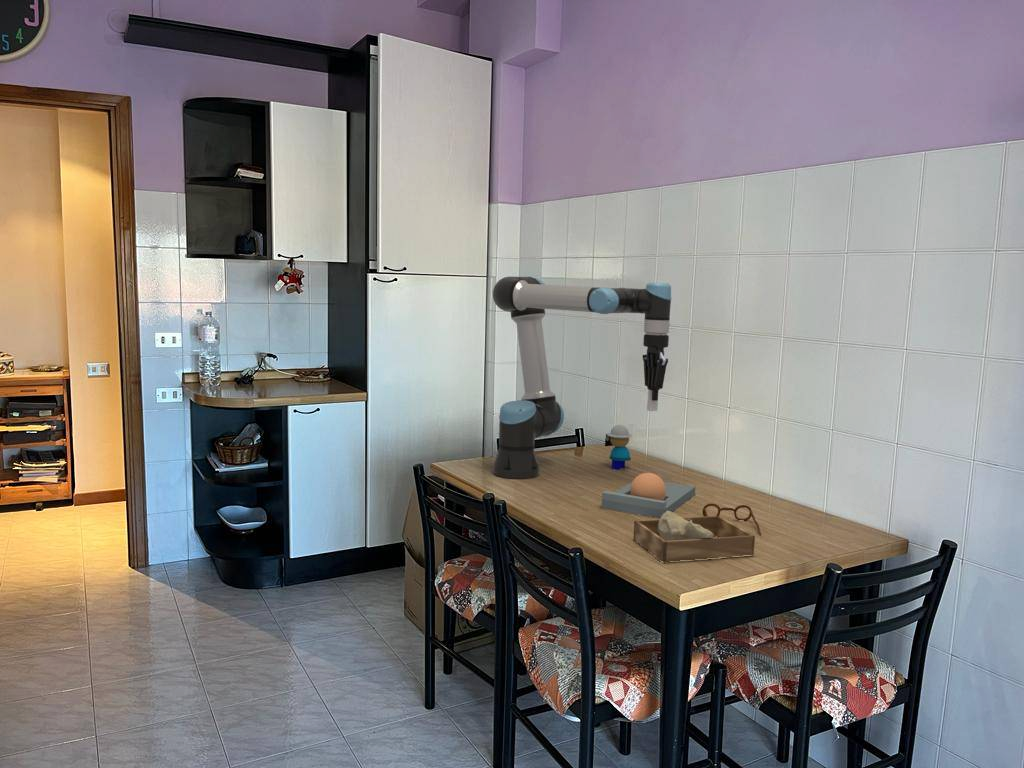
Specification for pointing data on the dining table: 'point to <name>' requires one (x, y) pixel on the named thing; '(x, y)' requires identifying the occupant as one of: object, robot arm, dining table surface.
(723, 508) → the glasses
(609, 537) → the dining table surface
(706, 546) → the wooden tray
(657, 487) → the ball
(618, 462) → the toy
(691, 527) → the beige irregular lump
